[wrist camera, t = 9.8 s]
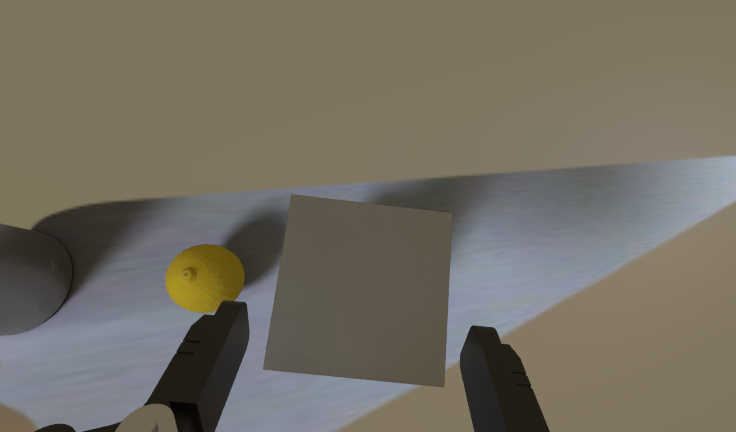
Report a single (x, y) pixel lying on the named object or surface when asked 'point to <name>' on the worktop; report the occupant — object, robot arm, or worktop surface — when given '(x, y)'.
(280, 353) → the column
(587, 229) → the worktop surface
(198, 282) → the lemon
